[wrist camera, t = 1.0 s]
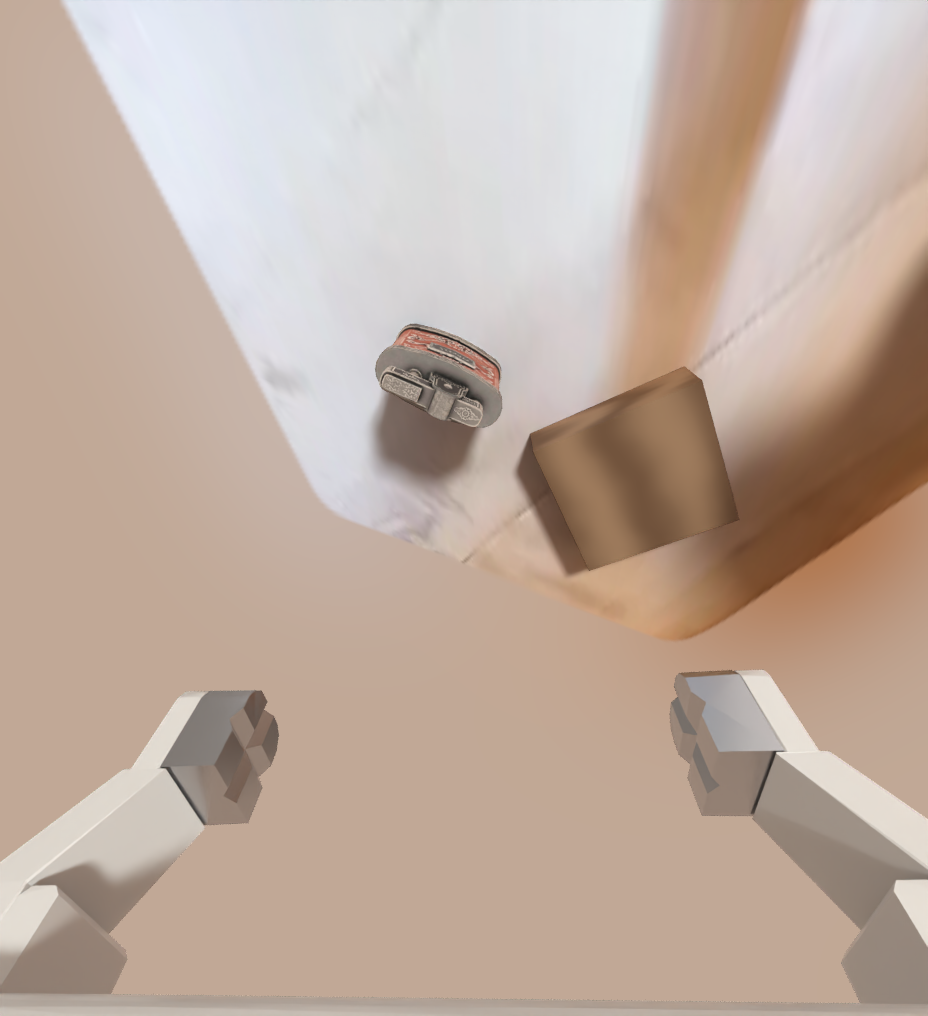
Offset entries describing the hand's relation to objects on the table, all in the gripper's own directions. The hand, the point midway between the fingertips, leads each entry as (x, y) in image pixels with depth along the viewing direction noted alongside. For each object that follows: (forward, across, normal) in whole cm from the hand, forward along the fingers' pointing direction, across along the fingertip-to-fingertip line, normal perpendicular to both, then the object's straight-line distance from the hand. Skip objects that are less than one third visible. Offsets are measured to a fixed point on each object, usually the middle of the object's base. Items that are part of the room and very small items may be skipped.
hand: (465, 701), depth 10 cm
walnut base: (+30, -11, +10) cm, 33 cm away
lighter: (+30, +2, 0) cm, 30 cm away
